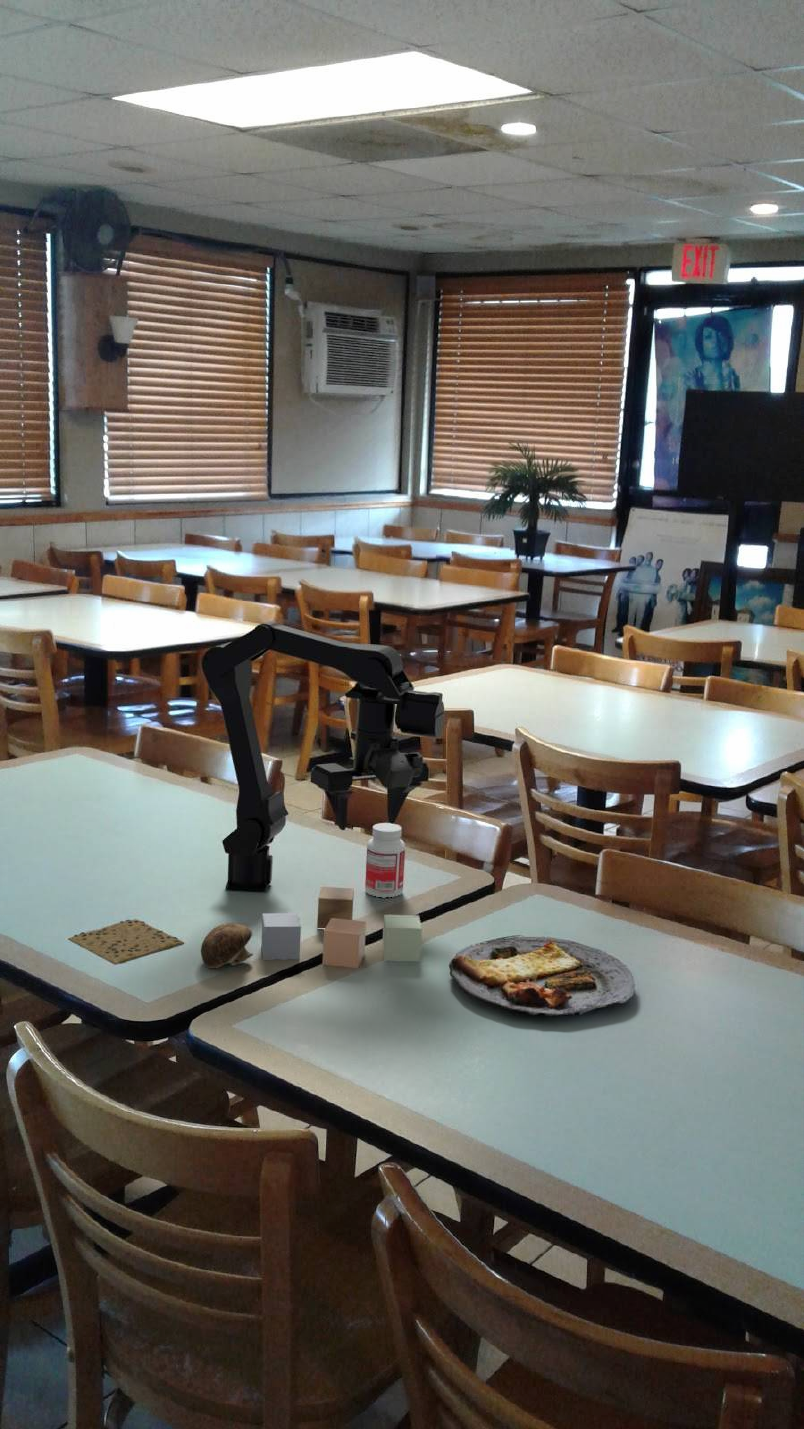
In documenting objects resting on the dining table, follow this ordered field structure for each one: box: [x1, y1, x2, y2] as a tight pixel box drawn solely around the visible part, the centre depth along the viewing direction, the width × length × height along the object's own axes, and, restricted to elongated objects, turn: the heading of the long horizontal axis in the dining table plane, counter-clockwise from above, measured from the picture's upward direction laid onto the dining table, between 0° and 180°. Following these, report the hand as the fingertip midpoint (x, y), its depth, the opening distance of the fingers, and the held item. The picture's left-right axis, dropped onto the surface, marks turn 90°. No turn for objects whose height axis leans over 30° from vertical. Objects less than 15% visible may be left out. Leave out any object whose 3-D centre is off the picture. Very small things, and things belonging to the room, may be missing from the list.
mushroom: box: [200, 922, 254, 969], centre depth 172 cm, size 8×8×6 cm
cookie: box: [67, 918, 185, 965], centre depth 179 cm, size 12×12×1 cm
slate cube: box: [260, 912, 302, 961], centre depth 177 cm, size 5×5×5 cm
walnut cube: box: [316, 886, 355, 929], centre depth 189 cm, size 5×5×5 cm
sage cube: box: [381, 914, 423, 963], centre depth 179 cm, size 5×5×5 cm
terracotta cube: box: [321, 918, 367, 969], centre depth 176 cm, size 5×5×5 cm
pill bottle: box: [364, 822, 406, 899], centre depth 203 cm, size 6×6×11 cm
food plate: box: [448, 935, 636, 1017], centre depth 172 cm, size 25×23×4 cm
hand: (367, 826), depth 196 cm, fingers open, 9 cm apart
